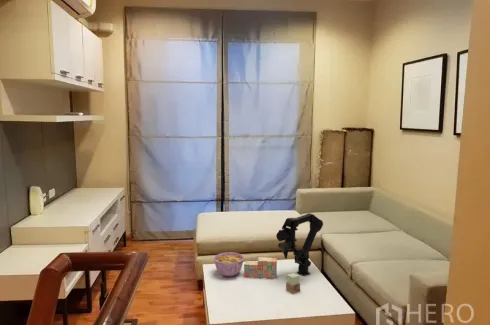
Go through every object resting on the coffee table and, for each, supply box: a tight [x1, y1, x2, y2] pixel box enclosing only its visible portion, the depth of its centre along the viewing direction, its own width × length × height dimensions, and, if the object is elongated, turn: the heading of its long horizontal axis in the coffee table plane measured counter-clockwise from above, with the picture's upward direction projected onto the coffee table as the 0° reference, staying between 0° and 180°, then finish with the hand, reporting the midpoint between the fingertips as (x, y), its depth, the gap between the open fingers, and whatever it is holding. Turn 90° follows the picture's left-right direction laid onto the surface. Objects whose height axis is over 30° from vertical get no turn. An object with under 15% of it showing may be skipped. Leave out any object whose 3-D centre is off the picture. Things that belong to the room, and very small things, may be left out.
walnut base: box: [285, 281, 301, 295], centre depth 230 cm, size 6×6×5 cm
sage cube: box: [286, 272, 300, 285], centre depth 230 cm, size 5×5×5 cm
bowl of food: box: [213, 251, 245, 277], centre depth 256 cm, size 20×20×12 cm
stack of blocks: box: [243, 256, 278, 280], centre depth 252 cm, size 21×6×12 cm, turn 83°
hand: (290, 260), depth 248 cm, fingers open, 9 cm apart
